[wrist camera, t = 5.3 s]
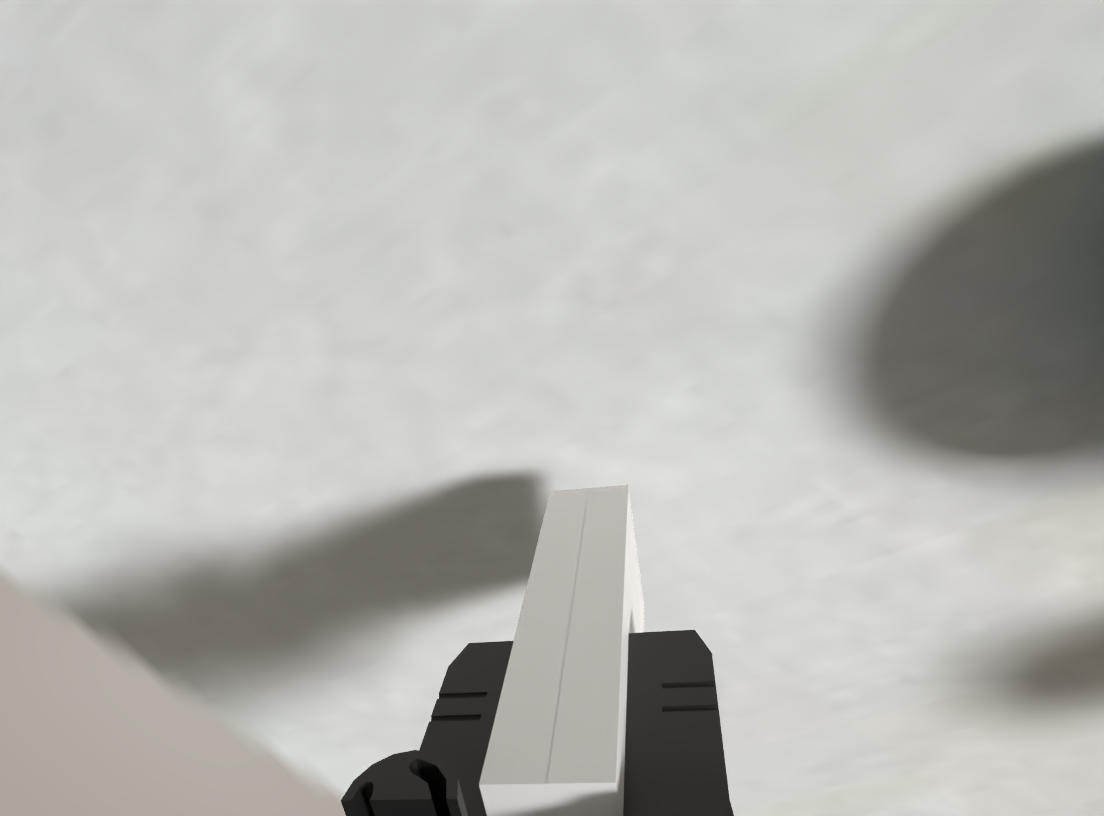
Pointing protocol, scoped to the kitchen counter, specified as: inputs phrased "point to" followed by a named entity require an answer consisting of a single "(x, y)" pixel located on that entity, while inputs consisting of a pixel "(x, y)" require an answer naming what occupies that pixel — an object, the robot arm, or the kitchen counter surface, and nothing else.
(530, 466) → the kitchen counter surface
